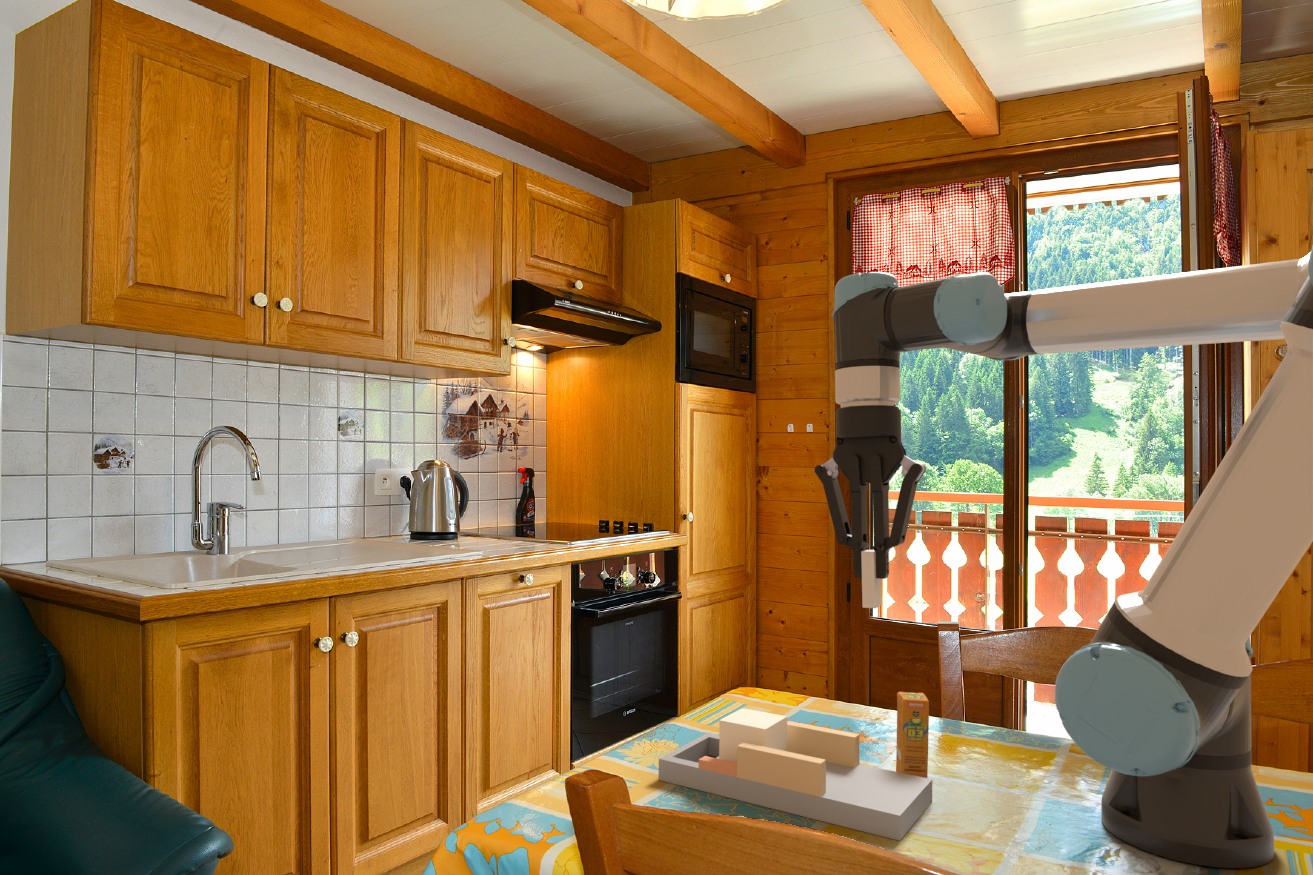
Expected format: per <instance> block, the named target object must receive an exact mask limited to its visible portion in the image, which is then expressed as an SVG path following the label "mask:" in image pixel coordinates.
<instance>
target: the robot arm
mask: <svg viewBox="0 0 1313 875" xmlns="http://www.w3.org/2000/svg"><path fill="white" fill-rule="evenodd" d="M833 296H834V301H833V302H834V303H833V312H832V320H833V332H834V334H833V335H834V353H835V354H834V355H835V356H834V358H835V364H834V365H835V367H834V368H835V369H834V370H835V371H834V377H835V378H834V380H835V381H834V384H835V385H834V388H835V389H834V390H835V392H834V393H835V396H834V397H835V400H834V401H835V404H837V405H840V408H837V410H836V411H835V440H836V443H835V447H834V450H833V452H832V457H831V458H830V459H829V460H827V461H826V462H825V463H824V462H823V464H817V465H816V466H815V467H814V473H815V474H816V476H817V478H818V479H819V480H820V482H821V483H822V485H823V490H824V495H825V498H826V501H827V505H828V509H829V514H830V517H831V521H832V526H833V530H834V534H835V537H836V541H837V543H838V544H839V545H843V546H846V547H848V548H850V549H851V550H852V556H853V558H852V559H853V560H852V561H853V562H852V563H853V575H854V578H859V579H860V578H861V593H862V594H861V595H862V597H861V598H862V601H861V602H862V603H861V604H862V608H865V609H876V608H879V607H881V606H882V580H883V579H884V580H885V579H887V578H888V577H889V575H890V560H889V558H890V556H889V555H890V554H889V553H890V550H891V549H892V548H895V547H899V546H901V545H903V544H904V543H905V541H906V537H907V532H908V528H909V524H910V523H909V522H910V520H911V514H912V510H913V505H914V501H915V496H916V492H917V488H918V483H919V482H920V481H921V479H922V477H923V476H924V474H925V473H926V471H927V467H926V465H925V464H923V463H918V462H916V461H915V460H913V459H912V458H910V457H909V456H907V450H906V449H905V447H904V446H903V443H902V441H903V440H902V413H901V412H902V410H901V409H900V408H899V406H896V404H897V403H899V402H900V401H901V369H900V368H901V367H900V366H901V365H900V363H901V362H900V360H901V359H900V357H901V353H907V352H908V353H909V352H913V351H922V350H931V349H932V350H933V349H950V350H953V351H957V352H963V353H967V354H973V355H977V356H982V357H985V358H987V359H990V360H994V361H1015V360H1020V359H1023V358H1024V357H1026V356H1035V355H1036V356H1037V355H1045V354H1047V355H1048V354H1061V353H1062V354H1063V353H1078V352H1094V351H1095V352H1096V351H1097V352H1098V351H1110V350H1111V351H1112V350H1113V351H1115V350H1124V349H1125V350H1128V349H1142V348H1143V349H1144V348H1161V347H1174V346H1177V347H1178V346H1191V345H1193V346H1194V345H1195V346H1196V345H1209V344H1222V343H1224V344H1225V343H1226V344H1227V343H1240V342H1241V343H1242V342H1243V343H1244V342H1256V341H1272V340H1273V341H1274V340H1285V343H1286V345H1287V346H1286V348H1287V353H1286V354H1285V355H1284V357H1283V359H1282V360H1281V362H1280V364H1279V366H1278V367H1277V369H1276V371H1275V372H1274V374H1273V375H1272V377H1271V379H1270V381H1269V383H1268V384H1267V386H1265V389H1264V390H1263V392H1262V394H1261V395H1260V397H1259V399H1258V400H1257V402H1256V404H1255V405H1254V407H1253V409H1252V410H1251V411H1250V413H1249V415H1248V417H1247V419H1246V420H1245V422H1244V423H1243V425H1242V427H1241V428H1240V430H1239V432H1238V433H1237V435H1236V437H1235V439H1234V440H1233V441H1232V443H1231V445H1230V447H1229V448H1228V450H1227V452H1226V453H1225V455H1224V457H1223V459H1222V460H1221V461H1220V463H1219V465H1218V467H1217V468H1216V470H1215V471H1214V473H1213V475H1212V476H1211V478H1210V479H1209V480H1208V483H1207V484H1206V486H1205V488H1204V489H1203V491H1202V493H1201V494H1200V496H1199V498H1198V499H1197V501H1196V503H1195V504H1194V506H1193V507H1192V509H1191V511H1190V513H1189V514H1188V516H1187V518H1186V519H1185V521H1184V522H1183V524H1182V525H1181V527H1180V529H1179V531H1178V533H1177V534H1176V536H1175V538H1174V539H1173V541H1172V542H1171V544H1170V545H1169V548H1168V549H1167V551H1166V553H1165V554H1164V556H1163V557H1162V559H1161V560H1160V562H1159V564H1158V565H1157V567H1156V569H1155V571H1154V572H1153V574H1152V576H1151V577H1150V578H1149V580H1148V582H1147V584H1146V585H1145V587H1144V589H1141V590H1140V591H1134V592H1130V593H1125V594H1120V595H1119V596H1117V598H1116V599H1115V600H1114V602H1113V604H1112V605H1111V607H1110V608H1109V610H1108V612H1107V613H1106V615H1105V617H1104V619H1103V620H1102V622H1101V623H1100V625H1099V627H1098V628H1097V630H1096V632H1095V633H1094V635H1093V637H1092V638H1091V640H1090V642H1089V643H1088V644H1087V645H1083V646H1081V647H1080V648H1079V649H1076V650H1075V651H1073V653H1072V654H1071V655H1070V656H1069V657H1068V658H1067V659H1066V661H1065V662H1064V663H1063V665H1062V666H1061V668H1060V669H1059V672H1058V674H1057V676H1056V680H1055V685H1054V701H1055V708H1056V710H1057V712H1058V715H1059V719H1060V720H1061V724H1062V726H1063V728H1064V729H1065V731H1066V733H1067V734H1068V735H1069V737H1070V738H1071V740H1072V741H1073V743H1074V744H1075V745H1076V746H1078V748H1079V749H1080V751H1081V750H1082V752H1083V753H1085V755H1087V756H1088V757H1090V758H1091V759H1092V760H1094V761H1095V762H1096V763H1099V764H1100V765H1102V766H1103V767H1105V768H1107V769H1110V770H1111V772H1110V774H1109V777H1108V780H1107V783H1106V786H1105V788H1104V790H1103V793H1102V796H1101V802H1100V803H1101V804H1100V805H1101V822H1102V824H1103V826H1104V827H1105V829H1107V831H1109V833H1111V834H1112V835H1114V836H1115V837H1117V838H1118V839H1120V840H1121V841H1124V842H1126V843H1128V844H1129V845H1131V846H1133V847H1136V848H1137V849H1140V850H1143V851H1146V852H1149V853H1151V854H1154V855H1157V856H1161V857H1163V858H1166V859H1171V860H1175V861H1178V862H1181V863H1187V864H1192V865H1198V866H1203V867H1204V866H1205V867H1212V868H1222V869H1224V868H1225V869H1245V868H1246V869H1247V868H1255V867H1258V866H1259V867H1260V866H1262V865H1265V864H1268V863H1269V862H1271V861H1272V860H1273V859H1274V856H1275V834H1274V828H1273V826H1272V822H1271V820H1270V818H1269V815H1268V811H1267V808H1266V806H1265V804H1264V800H1263V798H1262V796H1261V792H1260V790H1259V787H1258V785H1257V782H1256V778H1255V777H1254V776H1255V775H1254V774H1253V768H1252V767H1253V766H1252V672H1253V665H1252V657H1253V654H1254V650H1253V647H1252V645H1251V635H1252V633H1253V632H1254V630H1255V629H1256V628H1257V626H1258V624H1259V623H1260V621H1261V620H1262V619H1263V617H1264V615H1265V613H1266V612H1267V611H1268V609H1269V608H1270V607H1271V604H1272V603H1273V602H1274V600H1275V599H1276V597H1277V596H1278V594H1279V593H1280V592H1281V590H1282V588H1283V587H1284V585H1285V584H1286V582H1287V581H1288V579H1289V578H1290V576H1291V575H1292V573H1293V572H1294V570H1295V569H1296V567H1297V566H1298V564H1299V562H1300V561H1301V560H1302V558H1303V557H1304V555H1305V553H1306V552H1307V550H1309V548H1310V546H1311V545H1312V543H1313V245H1312V246H1311V250H1310V252H1309V253H1308V254H1307V255H1305V256H1304V257H1302V258H1297V259H1296V258H1295V259H1288V260H1280V261H1271V262H1262V263H1254V264H1246V265H1245V264H1244V265H1236V266H1228V267H1221V268H1213V269H1211V268H1210V269H1204V270H1195V271H1187V272H1178V273H1171V274H1169V273H1168V274H1162V275H1161V274H1160V275H1152V276H1144V277H1137V278H1136V277H1135V278H1128V279H1127V278H1126V279H1118V280H1111V281H1103V282H1102V281H1101V282H1094V283H1087V284H1086V283H1085V284H1078V285H1068V286H1061V287H1053V288H1052V287H1051V288H1044V289H1036V290H1030V291H1029V290H1028V291H1026V290H1025V291H1019V292H1011V293H1005V291H1004V288H1003V286H1002V284H1000V283H999V282H998V279H997V277H996V276H994V275H993V274H991V273H988V272H975V273H967V274H965V273H957V274H955V275H951V276H949V277H945V278H939V279H934V280H929V281H928V280H927V281H923V282H919V283H913V284H909V285H904V286H899V283H898V279H897V278H896V276H895V275H893V274H892V273H888V272H883V271H881V272H880V271H871V272H870V271H869V272H866V273H865V272H864V273H862V272H857V273H853V274H849V275H846V276H844V277H842V278H840V279H839V280H838V281H837V282H836V285H835V286H834V295H833ZM901 466H902V469H901V475H902V476H903V480H902V481H901V485H900V490H899V494H898V499H897V502H896V507H895V508H896V509H895V513H894V517H893V520H892V521H893V522H892V526H891V530H890V513H889V512H890V509H889V506H890V504H889V493H890V492H889V491H890V481H891V480H892V478H893V477H894V476H895V474H896V473H897V472H898V470H899V469H900V467H901ZM838 468H839V469H840V471H841V472H842V473H843V475H844V476H845V478H846V479H847V480H848V481H849V491H850V513H851V514H850V518H851V525H850V520H849V518H848V513H847V509H846V505H845V502H844V498H843V494H842V490H841V486H840V483H839V479H838V478H837V477H838V476H839V470H838ZM869 484H870V485H871V487H870V489H871V493H872V520H873V521H872V523H873V524H872V525H873V545H872V546H871V548H872V549H867V548H869V547H870V543H868V541H869V540H868V538H869V537H868V533H869V532H868V490H869Z"/></svg>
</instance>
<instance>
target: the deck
mask: <svg viewBox="0 0 1313 875" xmlns="http://www.w3.org/2000/svg"><path fill="white" fill-rule="evenodd" d="M658 781H661V782H665V783H668V784H673V785H677V786H682V787H686V788H690V789H693V790H697V791H701V792H705V793H710V794H713V795H716V796H721V797H725V798H729V799H732V800H733V799H734V800H737V801H741V802H745V803H748V804H749V803H750V804H753V805H756V806H761V807H765V808H768V809H769V808H770V809H773V810H776V811H780V812H784V813H788V814H792V815H797V816H801V817H805V818H808V819H811V820H817V821H820V822H824V823H827V824H831V825H836V826H839V827H844V828H847V829H851V830H856V831H859V832H864V833H868V834H871V835H875V836H878V837H883V838H888V839H892V840H895V841H899V842H900V841H902V839H903V838H904V836H906V835H907V833H908V832H909V830H910V829H911V828H912V827H913V826H914V825H915V823H916V822H917V821H918V820H919V819H920V818H921V816H922V815H923V814H924V812H926V810H927V809H928V807H929V806H930V805H931V804H932V803H933V779H932V778H928V777H927V778H924V777H919V776H914V775H909V774H904V773H900V772H896V770H888V769H885V768H880V767H875V766H872V765H871V766H870V765H865V764H860V734H859V733H855V732H849V731H846V730H845V731H844V730H839V729H832V728H828V727H822V726H817V725H812V724H808V723H803V722H796V721H792V720H787V751H782V750H778V749H773V748H768V747H763V746H759V745H754V744H749V743H744V742H743V743H741V744H740V745H738V746H737V763H735V762H730V761H726V760H722V759H719V734H717V733H712V732H706V733H704V734H703V735H701V736H698V737H697V738H695V739H694V740H691V741H690V742H688V743H686V744H684V745H682V746H680V747H678V748H676V749H674V750H672V751H671V752H669V753H667V754H665V755H663V756H661V757H659V758H658Z"/></svg>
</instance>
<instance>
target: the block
mask: <svg viewBox="0 0 1313 875" xmlns="http://www.w3.org/2000/svg"><path fill="white" fill-rule="evenodd" d="M787 721H788V716H787V715H781V714H776V713H770V712H765V711H761V710H760V711H759V710H755V709H749V708H743V707H742V708H740V709H738V710H736V711H735V712H733V713H730V714H729V715H727V716H725V717H723V718H721V719H719V728H718V730H719V731H718V732H719V734H718V735H719V759H722V760H726V761H730V762H735V763H737V746H738V745H740V744H741V743H743V742H744V743H749V744H754V745H759V746H763V747H768V748H773V749H778V750H782V751H787Z"/></svg>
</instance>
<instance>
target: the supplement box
mask: <svg viewBox="0 0 1313 875" xmlns="http://www.w3.org/2000/svg"><path fill="white" fill-rule="evenodd" d="M896 697H897V698H896V701H897V702H896V703H897V704H896V706H897V707H896V759H895V762H896V764H895V772H900V773H904V774H909V775H914V776H919V777H924V778H928V767H929V766H928V765H929V762H928V761H929V727H930V725H929V723H930V722H929V721H930V720H929V719H930V702H929V699H928V697H927V696H926V694H924V692H909V691H908V692H905V691H898V692H897V693H896Z"/></svg>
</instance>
